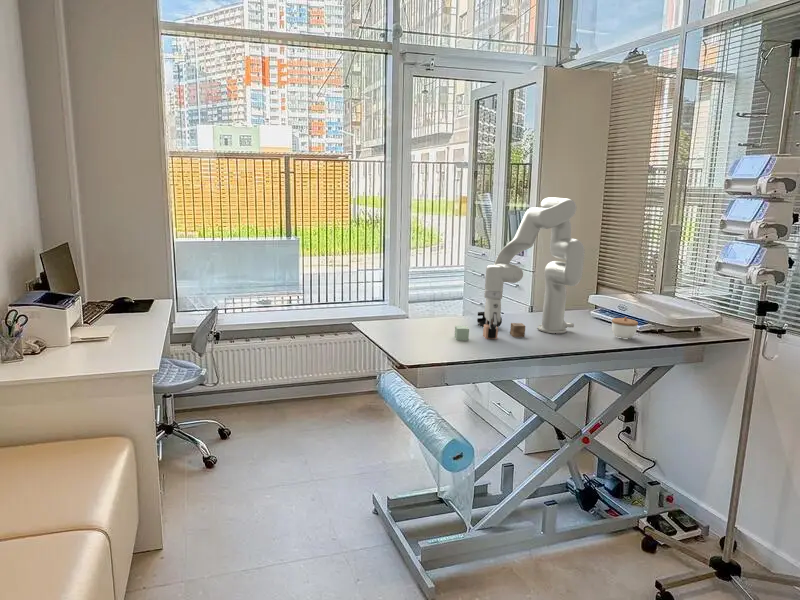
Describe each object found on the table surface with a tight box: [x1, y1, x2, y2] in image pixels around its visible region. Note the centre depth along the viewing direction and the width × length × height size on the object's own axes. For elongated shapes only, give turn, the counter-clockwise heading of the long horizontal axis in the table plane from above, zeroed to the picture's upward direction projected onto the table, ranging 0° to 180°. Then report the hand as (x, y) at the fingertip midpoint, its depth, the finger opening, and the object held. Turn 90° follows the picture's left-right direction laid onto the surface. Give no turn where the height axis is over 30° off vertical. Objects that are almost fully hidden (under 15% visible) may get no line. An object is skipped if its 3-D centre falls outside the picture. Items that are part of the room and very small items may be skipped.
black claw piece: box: [476, 311, 503, 328], centre depth 272 cm, size 10×7×7 cm
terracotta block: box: [482, 324, 499, 340], centre depth 253 cm, size 5×5×5 cm
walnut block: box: [509, 322, 526, 338], centre depth 258 cm, size 5×5×5 cm
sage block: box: [454, 325, 470, 341], centre depth 249 cm, size 5×5×5 cm
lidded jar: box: [611, 316, 639, 339], centre depth 262 cm, size 11×11×9 cm
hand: (490, 335), depth 253 cm, fingers closed on terracotta block, 5 cm apart
